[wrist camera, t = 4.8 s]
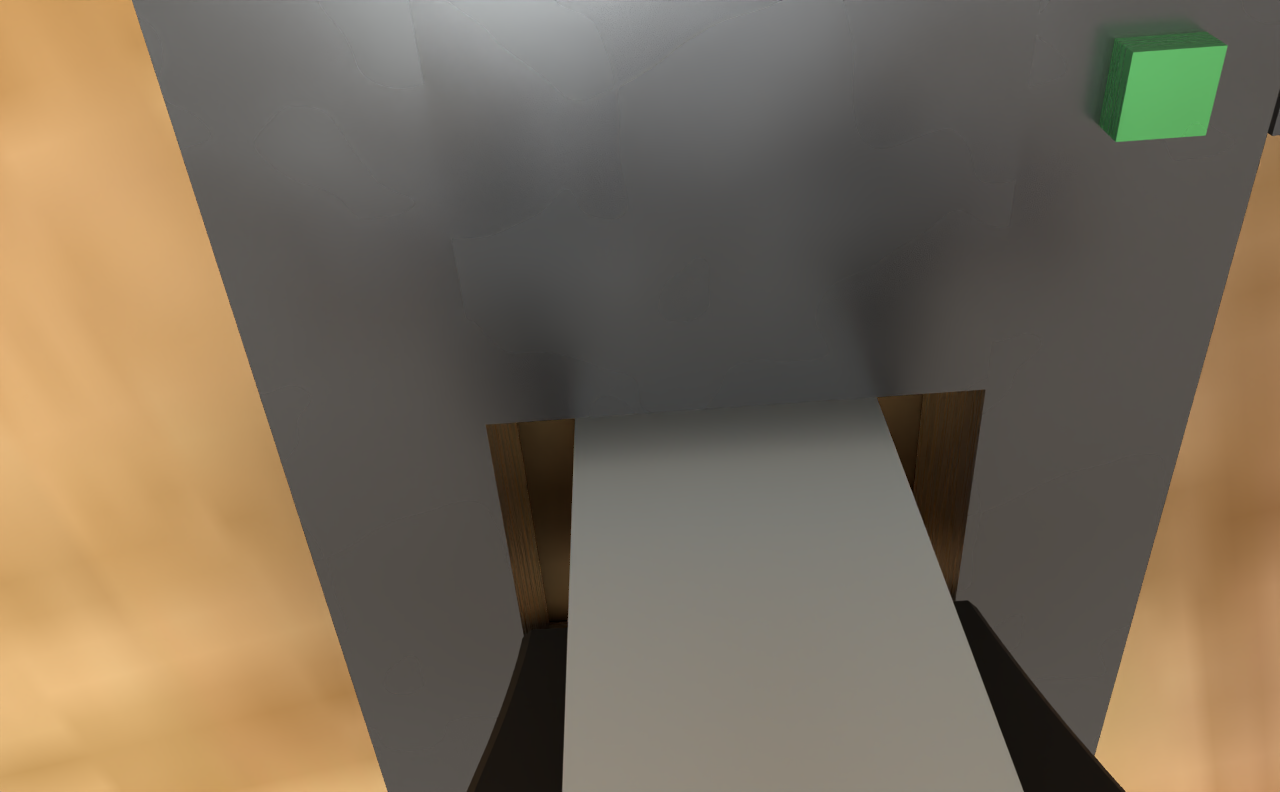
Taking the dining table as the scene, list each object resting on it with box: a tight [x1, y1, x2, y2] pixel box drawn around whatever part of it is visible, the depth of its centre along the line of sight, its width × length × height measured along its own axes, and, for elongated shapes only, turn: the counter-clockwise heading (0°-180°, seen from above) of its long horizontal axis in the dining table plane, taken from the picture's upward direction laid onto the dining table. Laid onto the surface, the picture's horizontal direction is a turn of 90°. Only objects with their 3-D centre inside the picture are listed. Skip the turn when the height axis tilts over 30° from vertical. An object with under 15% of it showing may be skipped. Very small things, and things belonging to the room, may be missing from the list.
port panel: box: [132, 0, 1280, 792], centre depth 14 cm, size 10×16×3 cm, turn 4°
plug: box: [562, 397, 1024, 792], centre depth 11 cm, size 4×4×8 cm
